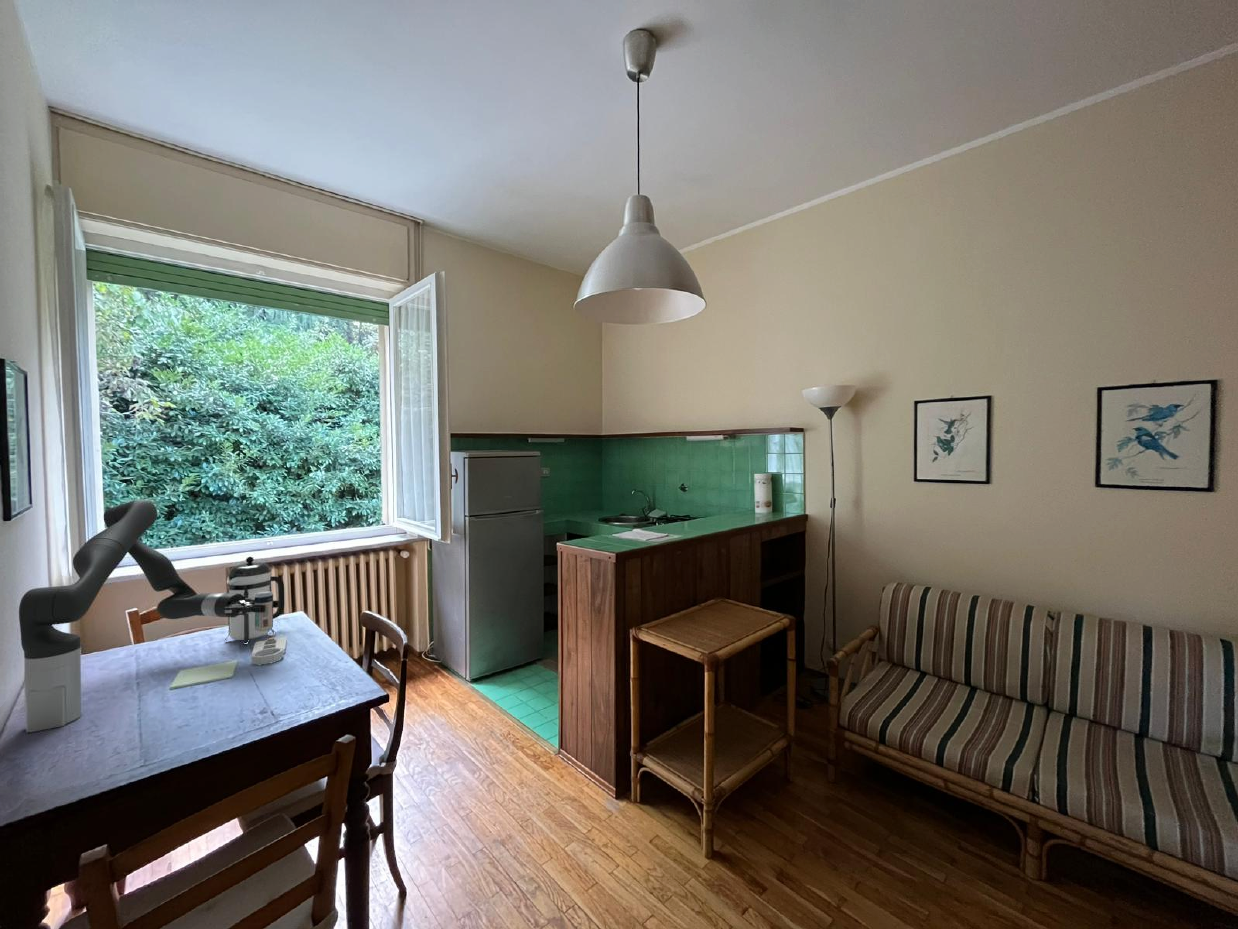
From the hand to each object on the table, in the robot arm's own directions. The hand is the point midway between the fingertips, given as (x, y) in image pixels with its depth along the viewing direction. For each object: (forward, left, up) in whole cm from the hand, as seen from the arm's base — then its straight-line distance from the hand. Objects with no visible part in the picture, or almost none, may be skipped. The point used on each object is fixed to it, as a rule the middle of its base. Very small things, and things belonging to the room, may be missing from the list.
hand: (271, 606), depth 160 cm
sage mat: (-2, +16, -18) cm, 24 cm away
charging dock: (+9, +1, -18) cm, 20 cm away
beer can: (+2, +2, -8) cm, 8 cm away
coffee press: (+31, +7, -18) cm, 37 cm away
